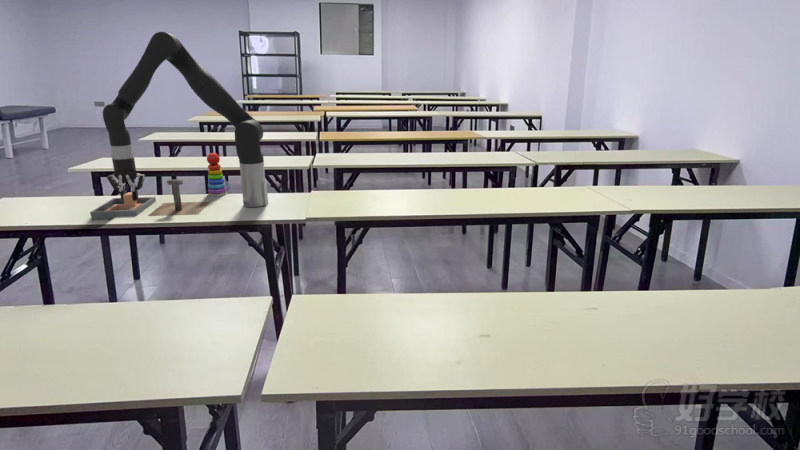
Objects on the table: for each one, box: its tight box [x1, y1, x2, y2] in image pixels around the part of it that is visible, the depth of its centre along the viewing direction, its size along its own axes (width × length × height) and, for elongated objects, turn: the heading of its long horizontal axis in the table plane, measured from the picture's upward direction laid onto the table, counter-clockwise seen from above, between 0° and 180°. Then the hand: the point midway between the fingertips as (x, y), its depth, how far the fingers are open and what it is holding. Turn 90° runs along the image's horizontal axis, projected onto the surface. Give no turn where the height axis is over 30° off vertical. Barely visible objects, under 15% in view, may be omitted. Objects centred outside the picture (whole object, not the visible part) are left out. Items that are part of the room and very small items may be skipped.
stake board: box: [147, 178, 211, 217], centre depth 197 cm, size 18×18×13 cm
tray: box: [89, 196, 157, 221], centre depth 198 cm, size 16×20×3 cm
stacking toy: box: [206, 152, 228, 197], centre depth 218 cm, size 8×8×19 cm
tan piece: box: [105, 191, 143, 211], centre depth 199 cm, size 10×15×5 cm, turn 6°
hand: (130, 200), depth 203 cm, fingers open, 3 cm apart
